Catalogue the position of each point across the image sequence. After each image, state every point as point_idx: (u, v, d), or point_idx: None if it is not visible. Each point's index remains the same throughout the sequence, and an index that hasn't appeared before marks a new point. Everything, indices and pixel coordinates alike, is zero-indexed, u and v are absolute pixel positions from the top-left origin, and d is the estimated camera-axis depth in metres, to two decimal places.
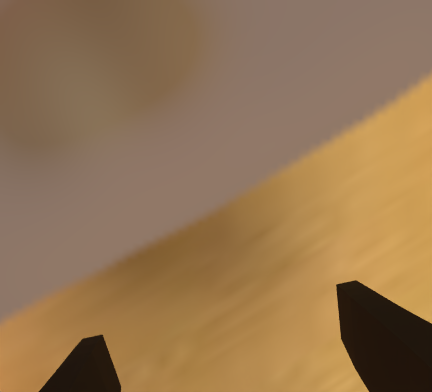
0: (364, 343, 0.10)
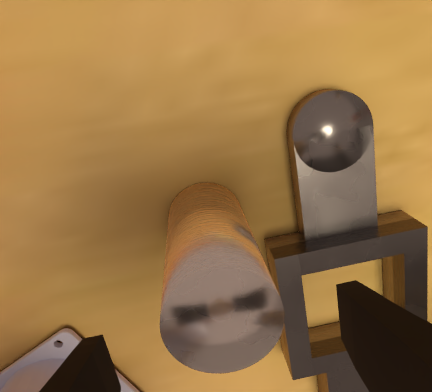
0: (364, 343, 0.10)
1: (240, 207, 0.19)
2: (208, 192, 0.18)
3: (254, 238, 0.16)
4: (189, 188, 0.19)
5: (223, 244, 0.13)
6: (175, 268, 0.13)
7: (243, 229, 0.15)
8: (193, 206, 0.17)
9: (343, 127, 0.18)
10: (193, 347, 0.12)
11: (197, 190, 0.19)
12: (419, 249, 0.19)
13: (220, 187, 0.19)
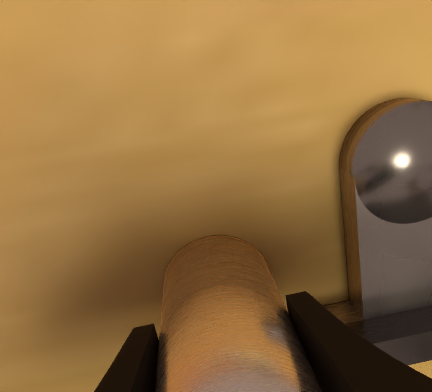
0: (307, 355, 0.10)
1: (271, 277, 0.12)
2: (223, 257, 0.12)
3: None
4: (194, 245, 0.13)
5: None
6: None
7: (289, 346, 0.09)
8: (202, 288, 0.10)
9: (431, 157, 0.12)
10: None
11: (206, 251, 0.12)
12: None
13: (240, 244, 0.13)
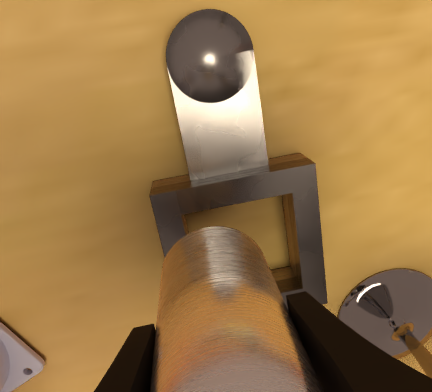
0: None
1: (265, 263, 0.12)
2: (215, 247, 0.12)
3: (296, 330, 0.10)
4: (187, 238, 0.13)
5: None
6: None
7: (279, 327, 0.09)
8: (193, 278, 0.10)
9: (220, 52, 0.17)
10: None
11: (198, 243, 0.12)
12: (308, 188, 0.18)
13: (233, 233, 0.13)
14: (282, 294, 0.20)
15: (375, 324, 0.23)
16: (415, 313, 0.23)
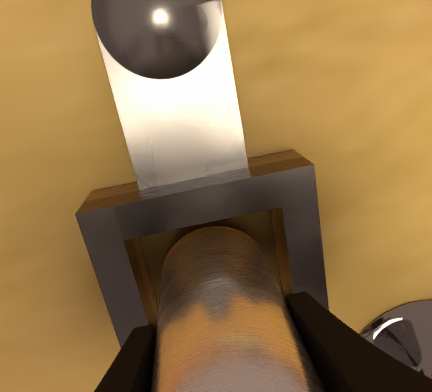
0: None
1: (265, 263, 0.12)
2: (215, 247, 0.12)
3: (297, 329, 0.10)
4: (187, 238, 0.13)
5: None
6: None
7: (279, 327, 0.09)
8: (193, 278, 0.10)
9: (173, 3, 0.12)
10: None
11: (199, 242, 0.12)
12: (305, 200, 0.13)
13: (233, 233, 0.13)
14: None
15: None
16: None
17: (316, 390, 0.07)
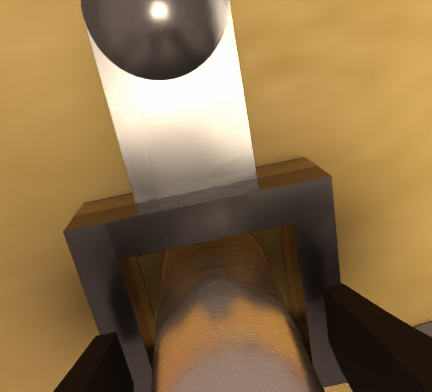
0: (349, 346, 0.10)
1: (263, 258, 0.13)
2: (214, 243, 0.12)
3: (293, 322, 0.10)
4: None
5: (246, 380, 0.07)
6: None
7: (276, 319, 0.09)
8: (193, 273, 0.11)
9: None
10: None
11: None
12: (320, 216, 0.11)
13: None
14: None
15: None
16: None
17: (310, 378, 0.08)
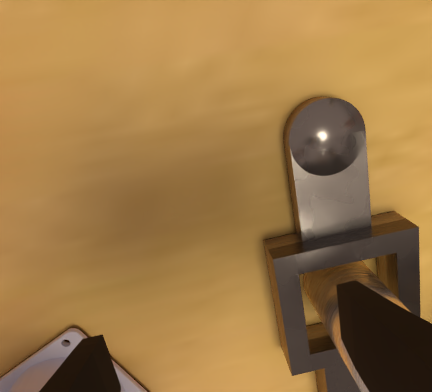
0: (364, 343, 0.10)
1: None
2: (346, 264, 0.21)
3: None
4: None
5: None
6: None
7: (402, 305, 0.18)
8: (344, 281, 0.20)
9: (337, 133, 0.19)
10: None
11: None
12: (411, 248, 0.20)
13: None
14: None
15: None
16: None
17: None
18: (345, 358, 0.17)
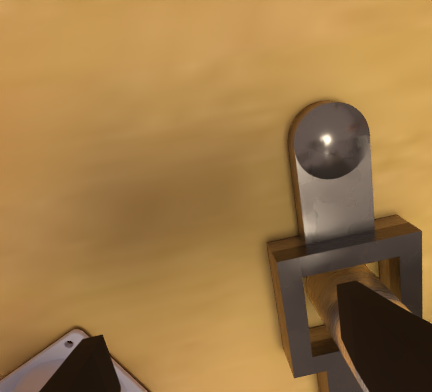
0: (364, 343, 0.10)
1: None
2: (349, 267, 0.21)
3: None
4: None
5: None
6: None
7: (405, 308, 0.18)
8: None
9: (341, 137, 0.19)
10: None
11: None
12: (414, 252, 0.20)
13: None
14: None
15: None
16: None
17: None
18: (349, 361, 0.17)
